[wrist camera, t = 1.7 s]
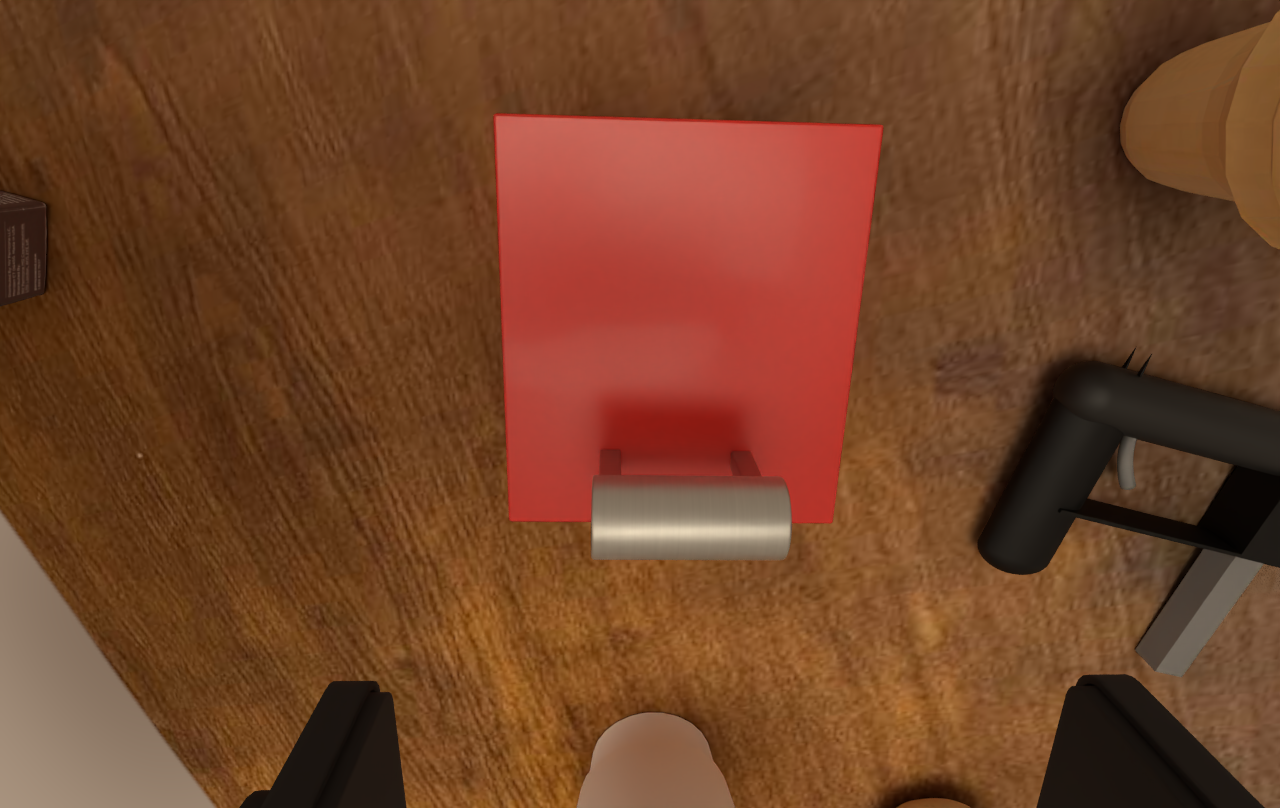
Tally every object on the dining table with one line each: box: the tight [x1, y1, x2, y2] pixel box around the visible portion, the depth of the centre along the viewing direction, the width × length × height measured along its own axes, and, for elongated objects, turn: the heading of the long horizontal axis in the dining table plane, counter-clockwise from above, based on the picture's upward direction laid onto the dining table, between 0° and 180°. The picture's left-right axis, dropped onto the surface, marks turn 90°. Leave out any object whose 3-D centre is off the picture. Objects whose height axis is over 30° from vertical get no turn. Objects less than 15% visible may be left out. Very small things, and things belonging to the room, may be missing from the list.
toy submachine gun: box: [978, 346, 1280, 677], centre depth 36 cm, size 3×20×16 cm
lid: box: [493, 113, 883, 560], centre depth 21 cm, size 13×12×6 cm
